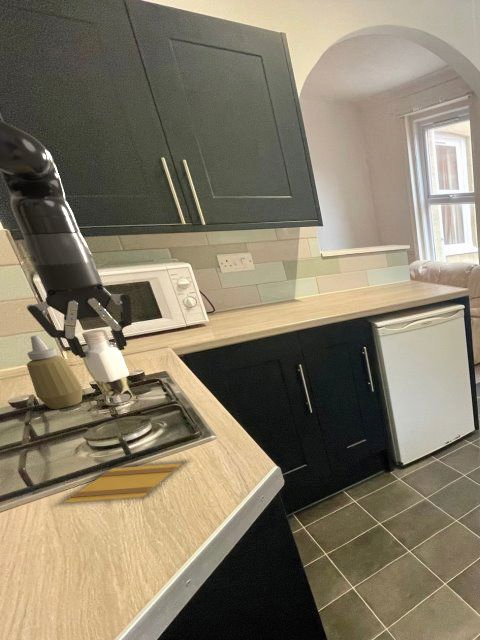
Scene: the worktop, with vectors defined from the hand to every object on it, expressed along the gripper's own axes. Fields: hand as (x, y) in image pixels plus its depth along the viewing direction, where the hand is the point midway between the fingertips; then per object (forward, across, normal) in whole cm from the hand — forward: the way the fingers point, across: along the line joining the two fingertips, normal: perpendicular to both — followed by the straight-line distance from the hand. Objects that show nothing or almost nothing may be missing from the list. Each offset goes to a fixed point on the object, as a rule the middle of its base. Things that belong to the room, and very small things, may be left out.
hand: (102, 352), depth 80 cm
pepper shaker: (+6, 0, 0) cm, 6 cm away
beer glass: (+20, -3, -31) cm, 37 cm away
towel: (+19, +5, +18) cm, 27 cm away
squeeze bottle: (+20, +6, -41) cm, 46 cm away
